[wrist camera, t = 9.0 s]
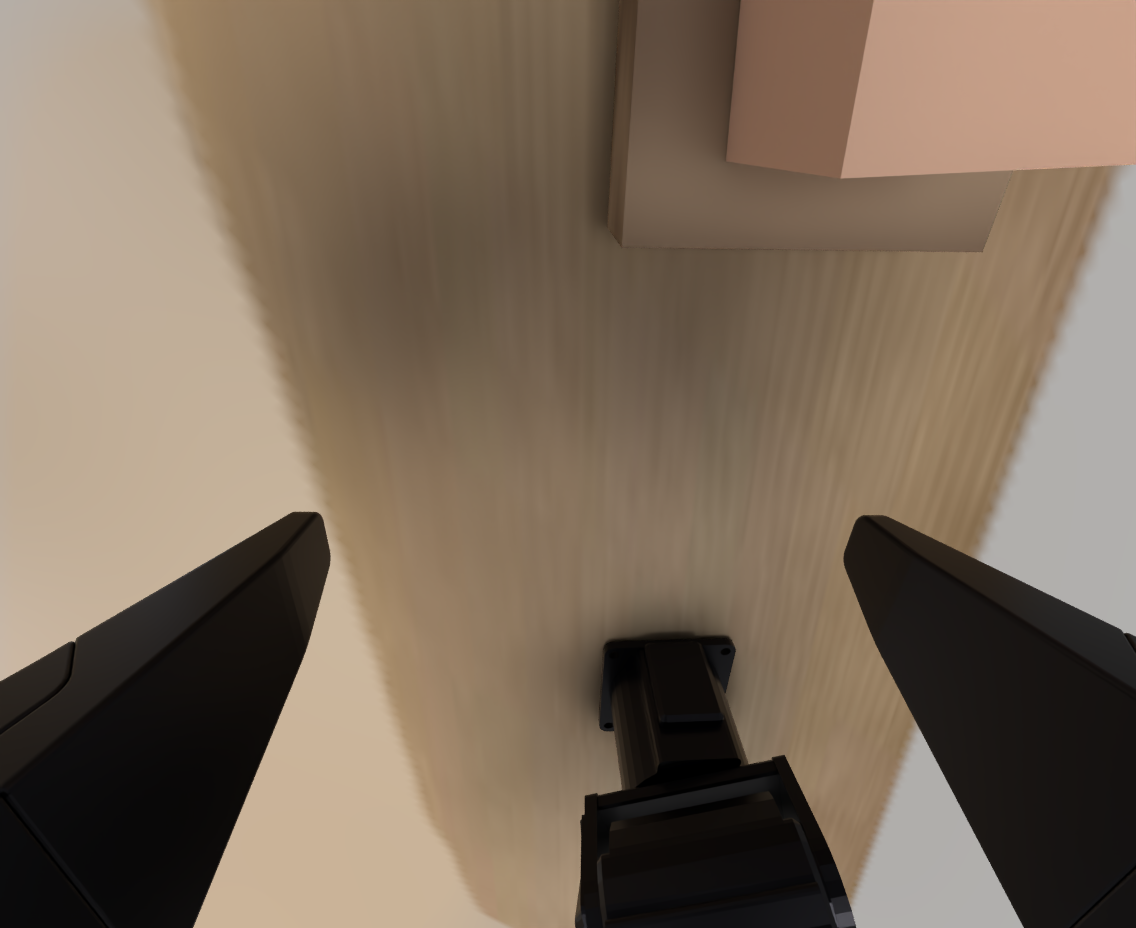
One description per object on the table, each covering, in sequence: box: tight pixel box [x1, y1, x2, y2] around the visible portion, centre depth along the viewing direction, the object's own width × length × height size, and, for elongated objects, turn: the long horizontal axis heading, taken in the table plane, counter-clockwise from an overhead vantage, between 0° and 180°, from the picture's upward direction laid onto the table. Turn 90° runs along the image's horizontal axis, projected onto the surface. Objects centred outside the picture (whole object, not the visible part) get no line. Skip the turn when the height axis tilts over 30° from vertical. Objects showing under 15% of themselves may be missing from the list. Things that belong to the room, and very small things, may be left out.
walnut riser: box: [607, 0, 1013, 252], centre depth 14 cm, size 10×10×4 cm
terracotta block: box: [726, 0, 1136, 179], centre depth 10 cm, size 5×5×6 cm
